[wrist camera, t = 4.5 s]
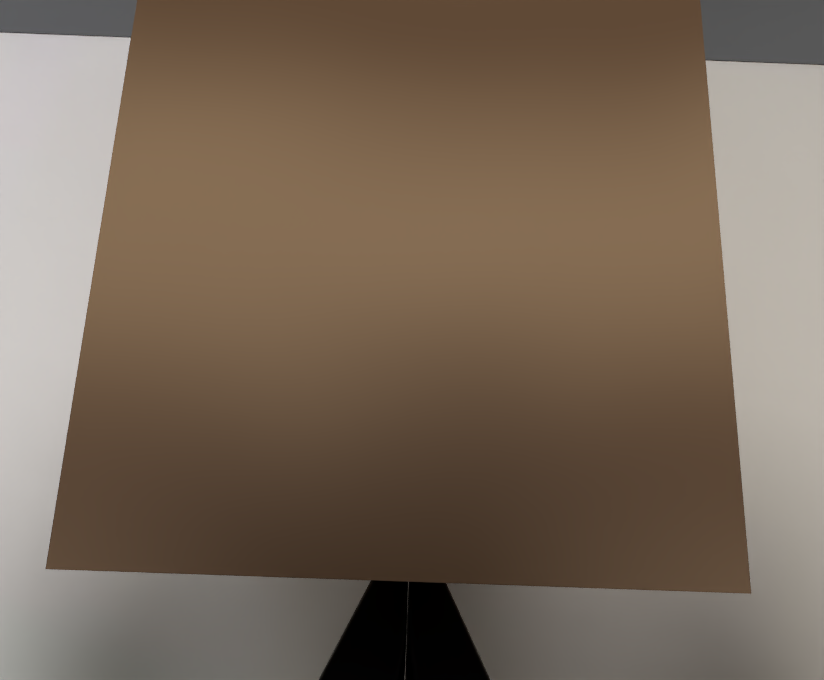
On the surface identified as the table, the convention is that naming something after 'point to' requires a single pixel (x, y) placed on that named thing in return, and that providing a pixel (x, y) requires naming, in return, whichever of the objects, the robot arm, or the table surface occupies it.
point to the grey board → (720, 3)
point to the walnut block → (410, 301)
